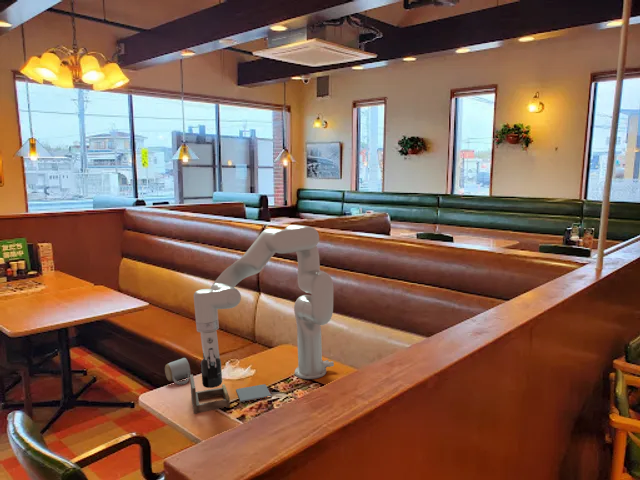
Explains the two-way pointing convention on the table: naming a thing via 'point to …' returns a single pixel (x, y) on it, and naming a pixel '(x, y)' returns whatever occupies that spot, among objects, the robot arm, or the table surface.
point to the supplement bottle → (205, 380)
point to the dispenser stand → (207, 394)
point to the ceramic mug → (178, 371)
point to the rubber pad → (252, 392)
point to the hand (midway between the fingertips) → (211, 373)
